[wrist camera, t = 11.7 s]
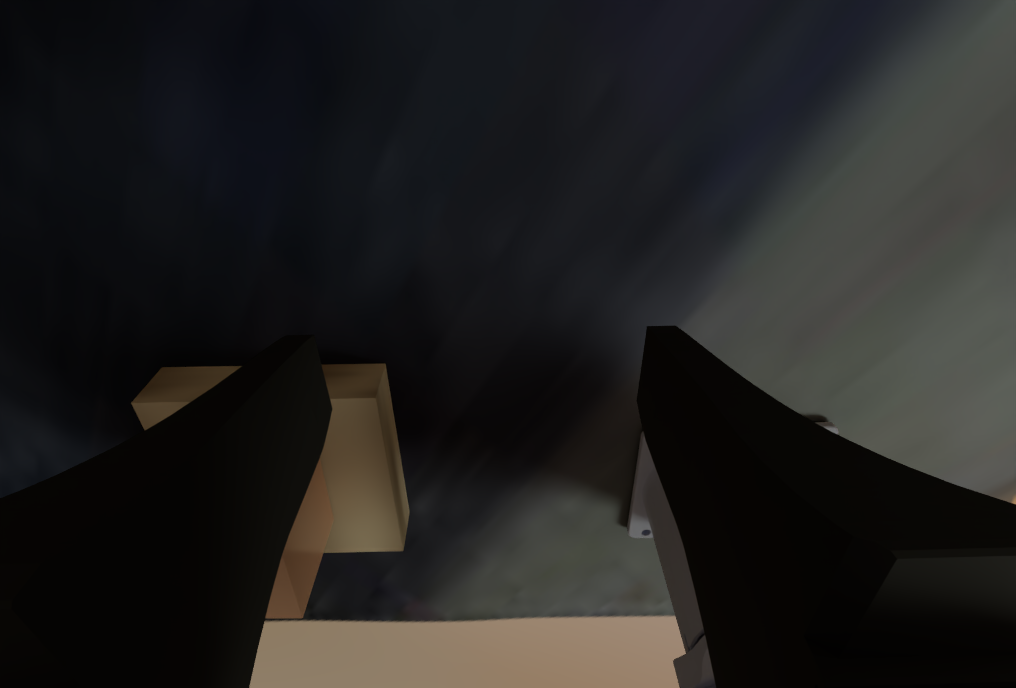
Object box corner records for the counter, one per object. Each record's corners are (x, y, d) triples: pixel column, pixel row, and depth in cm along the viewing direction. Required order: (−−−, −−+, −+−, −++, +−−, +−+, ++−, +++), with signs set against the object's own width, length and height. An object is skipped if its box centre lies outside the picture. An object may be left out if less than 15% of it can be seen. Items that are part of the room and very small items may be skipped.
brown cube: (316, 445, 24) (277, 541, 20) (333, 519, 27) (302, 618, 22) (205, 444, 24) (142, 541, 20) (233, 519, 26) (183, 618, 22)
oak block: (387, 356, 25) (375, 398, 23) (410, 504, 31) (403, 550, 28) (167, 361, 25) (131, 403, 23) (230, 508, 31) (206, 555, 28)
